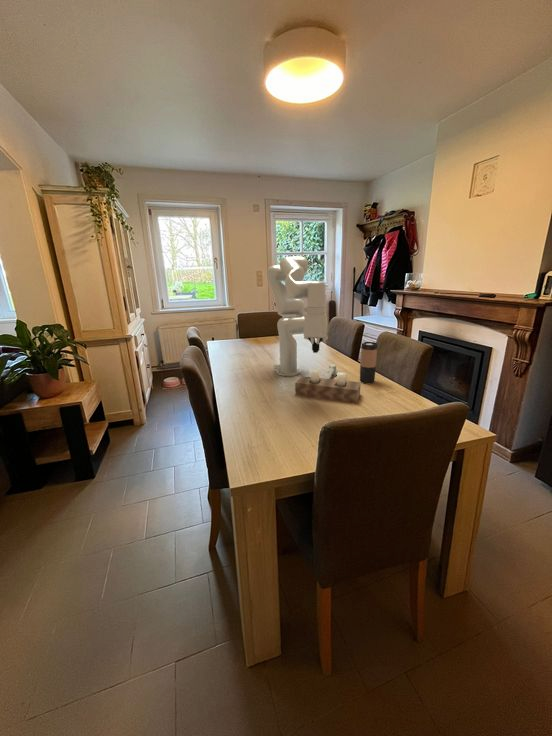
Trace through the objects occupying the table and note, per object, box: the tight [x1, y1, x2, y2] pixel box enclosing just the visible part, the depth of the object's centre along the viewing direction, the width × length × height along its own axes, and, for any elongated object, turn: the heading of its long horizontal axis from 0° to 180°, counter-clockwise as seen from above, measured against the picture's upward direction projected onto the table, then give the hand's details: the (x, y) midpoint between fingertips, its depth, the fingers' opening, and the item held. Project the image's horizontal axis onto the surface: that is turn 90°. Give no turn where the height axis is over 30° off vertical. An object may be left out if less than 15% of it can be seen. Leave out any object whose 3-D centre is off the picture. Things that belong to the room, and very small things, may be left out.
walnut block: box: [294, 375, 362, 404], centre depth 140 cm, size 28×10×6 cm, turn 68°
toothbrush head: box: [321, 363, 339, 379], centre depth 159 cm, size 5×7×25 cm
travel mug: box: [359, 341, 378, 384], centre depth 154 cm, size 8×8×20 cm
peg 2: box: [335, 371, 347, 386], centre depth 137 cm, size 4×4×6 cm
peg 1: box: [310, 369, 321, 383], centre depth 141 cm, size 4×4×6 cm
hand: (315, 352), depth 137 cm, fingers closed
